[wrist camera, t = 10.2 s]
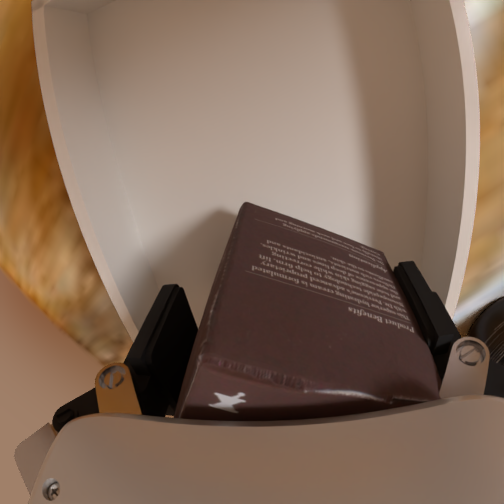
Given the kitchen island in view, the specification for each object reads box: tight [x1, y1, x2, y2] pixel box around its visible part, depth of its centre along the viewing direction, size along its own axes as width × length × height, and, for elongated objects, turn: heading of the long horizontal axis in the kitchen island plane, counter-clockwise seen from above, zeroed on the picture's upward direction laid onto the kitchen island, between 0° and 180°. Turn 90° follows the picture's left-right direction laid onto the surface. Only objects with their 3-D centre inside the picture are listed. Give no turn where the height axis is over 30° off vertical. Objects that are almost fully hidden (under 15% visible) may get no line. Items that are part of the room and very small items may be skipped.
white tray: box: [31, 0, 480, 343], centre depth 12 cm, size 20×14×5 cm
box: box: [174, 202, 442, 421], centre depth 10 cm, size 6×6×7 cm
